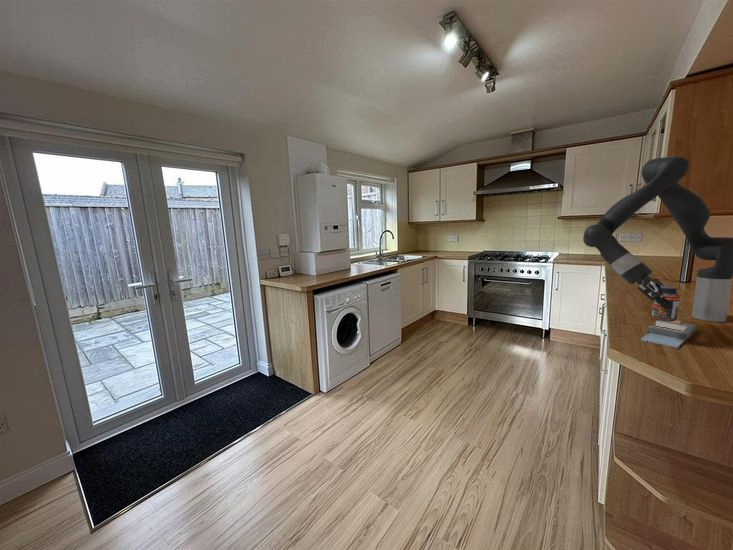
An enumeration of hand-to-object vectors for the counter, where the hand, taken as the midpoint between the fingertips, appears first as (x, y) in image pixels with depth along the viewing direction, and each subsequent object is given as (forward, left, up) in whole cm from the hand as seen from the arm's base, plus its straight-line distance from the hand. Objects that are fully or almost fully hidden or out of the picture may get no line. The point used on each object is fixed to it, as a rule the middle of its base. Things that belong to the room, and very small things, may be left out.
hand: (672, 306), depth 98 cm
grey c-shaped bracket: (-16, -2, -12) cm, 20 cm away
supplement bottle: (0, -2, -5) cm, 5 cm away
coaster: (0, -2, -12) cm, 13 cm away
